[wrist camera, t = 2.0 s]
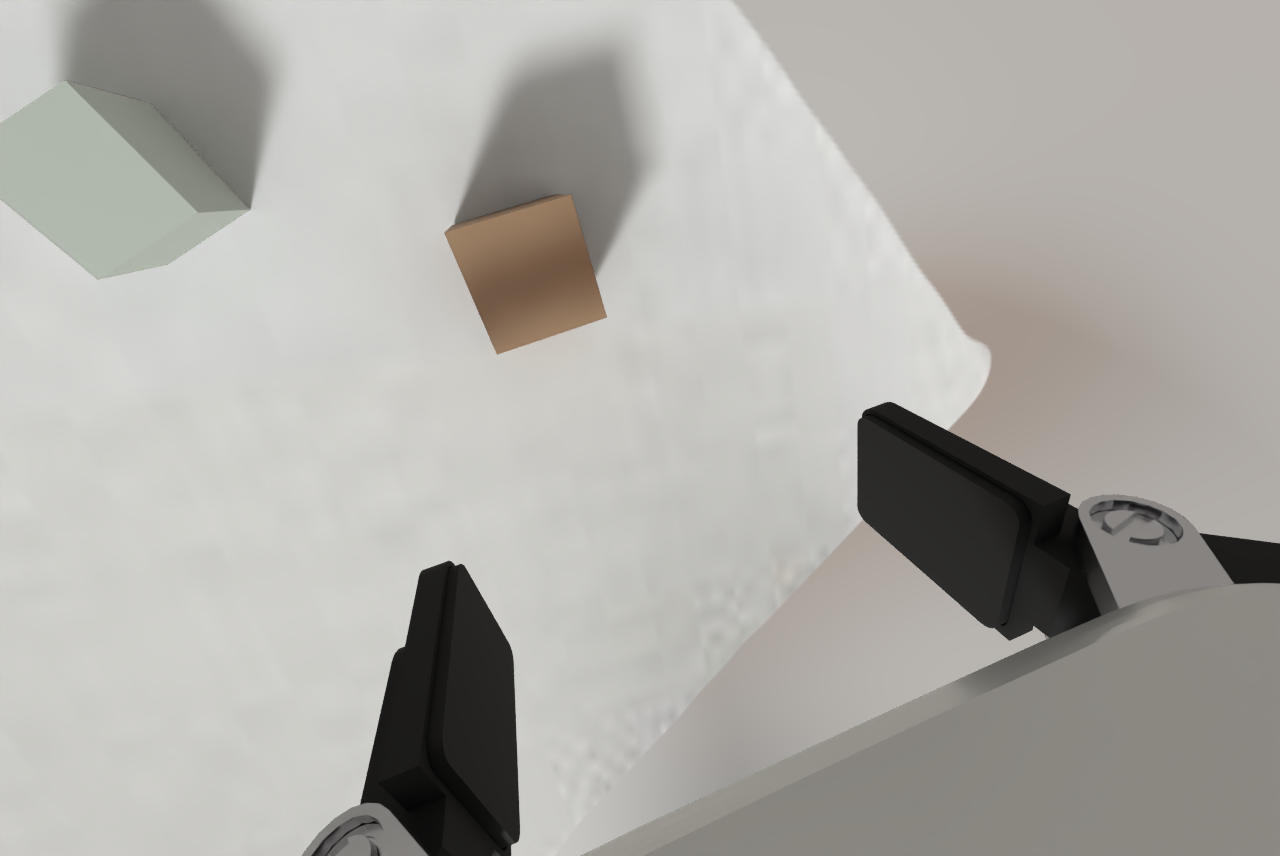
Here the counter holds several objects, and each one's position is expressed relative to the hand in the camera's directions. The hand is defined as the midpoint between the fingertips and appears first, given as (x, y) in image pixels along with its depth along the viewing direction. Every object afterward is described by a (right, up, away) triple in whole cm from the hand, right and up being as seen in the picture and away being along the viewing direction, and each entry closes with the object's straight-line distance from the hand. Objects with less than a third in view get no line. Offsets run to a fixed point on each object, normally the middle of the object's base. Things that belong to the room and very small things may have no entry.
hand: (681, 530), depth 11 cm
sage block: (-24, +14, +12) cm, 30 cm away
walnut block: (-8, +12, +18) cm, 23 cm away
